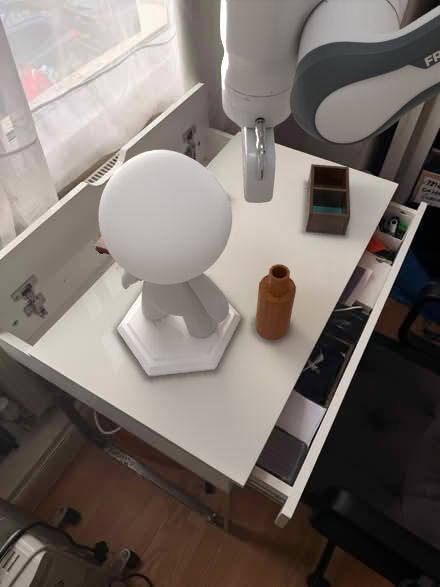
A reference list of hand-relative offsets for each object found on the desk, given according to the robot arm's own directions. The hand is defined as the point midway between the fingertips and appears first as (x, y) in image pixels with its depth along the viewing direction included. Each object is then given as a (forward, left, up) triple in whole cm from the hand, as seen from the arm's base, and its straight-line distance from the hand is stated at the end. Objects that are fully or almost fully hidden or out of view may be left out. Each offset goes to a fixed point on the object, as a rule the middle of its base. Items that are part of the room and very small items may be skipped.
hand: (253, 170), depth 65 cm
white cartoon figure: (+11, +12, -27) cm, 32 cm away
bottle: (-6, +10, -27) cm, 29 cm away
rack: (-15, -23, -27) cm, 39 cm away
